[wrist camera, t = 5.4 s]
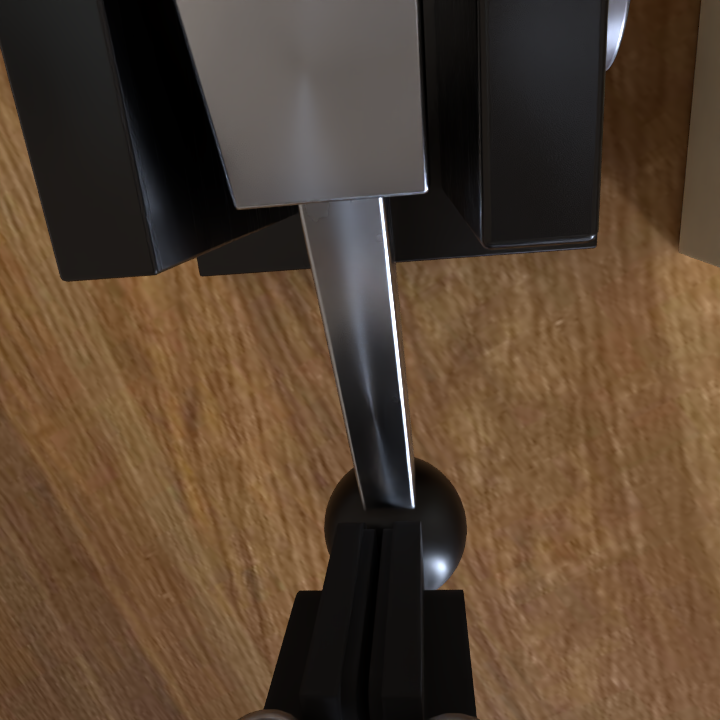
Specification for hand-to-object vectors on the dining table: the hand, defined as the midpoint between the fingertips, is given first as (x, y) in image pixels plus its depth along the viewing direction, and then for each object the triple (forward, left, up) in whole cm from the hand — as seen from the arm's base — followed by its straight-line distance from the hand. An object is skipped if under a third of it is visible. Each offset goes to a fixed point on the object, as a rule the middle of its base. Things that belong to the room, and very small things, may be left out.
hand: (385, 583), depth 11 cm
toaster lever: (-5, 0, -1) cm, 5 cm away
